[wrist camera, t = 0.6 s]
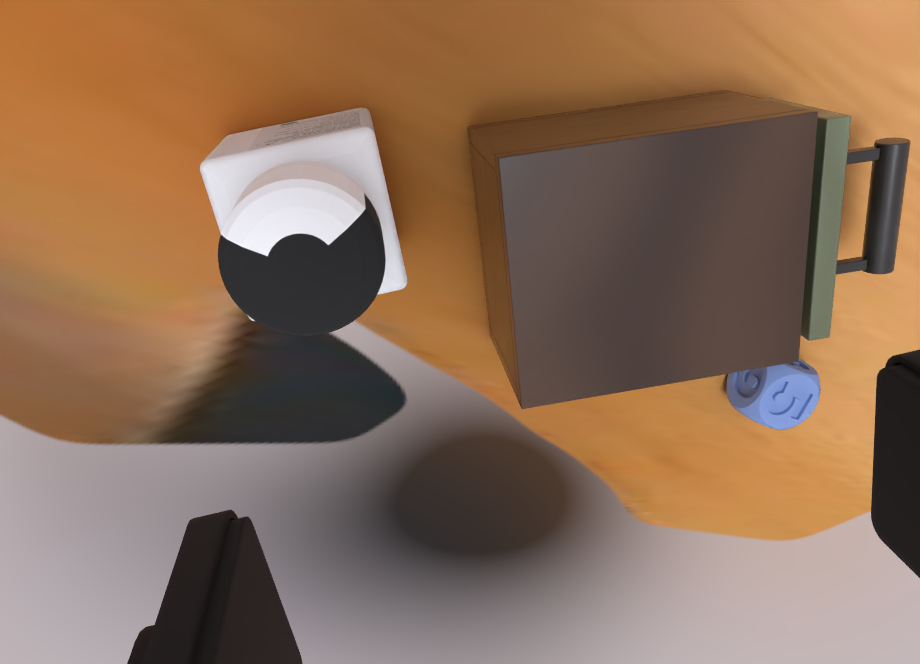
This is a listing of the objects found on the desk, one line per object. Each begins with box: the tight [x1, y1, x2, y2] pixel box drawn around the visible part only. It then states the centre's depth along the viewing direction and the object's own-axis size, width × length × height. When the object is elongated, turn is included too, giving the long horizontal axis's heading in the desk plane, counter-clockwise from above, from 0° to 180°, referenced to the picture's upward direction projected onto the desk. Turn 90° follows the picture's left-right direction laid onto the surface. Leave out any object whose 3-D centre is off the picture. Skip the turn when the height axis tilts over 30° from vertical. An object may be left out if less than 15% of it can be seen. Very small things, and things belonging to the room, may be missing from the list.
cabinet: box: [468, 90, 818, 409], centre depth 40 cm, size 15×13×9 cm
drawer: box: [765, 98, 910, 340], centre depth 40 cm, size 18×11×7 cm, turn 97°
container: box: [200, 107, 407, 336], centre depth 35 cm, size 8×8×13 cm
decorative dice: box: [727, 359, 820, 430], centre depth 48 cm, size 4×4×4 cm
